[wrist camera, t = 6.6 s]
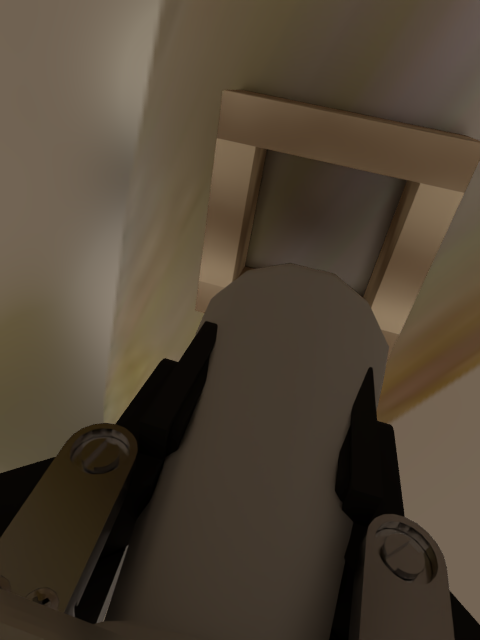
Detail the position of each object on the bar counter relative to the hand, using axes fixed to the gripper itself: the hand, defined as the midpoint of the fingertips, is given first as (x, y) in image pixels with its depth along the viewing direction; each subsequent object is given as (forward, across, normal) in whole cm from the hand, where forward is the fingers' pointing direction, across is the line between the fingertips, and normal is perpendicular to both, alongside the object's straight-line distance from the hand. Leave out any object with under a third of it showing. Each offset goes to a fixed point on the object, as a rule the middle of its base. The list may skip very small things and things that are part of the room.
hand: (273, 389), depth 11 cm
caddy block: (+15, 0, 0) cm, 15 cm away
